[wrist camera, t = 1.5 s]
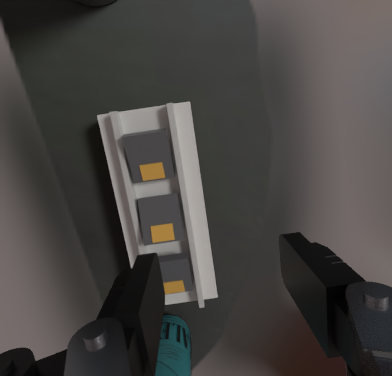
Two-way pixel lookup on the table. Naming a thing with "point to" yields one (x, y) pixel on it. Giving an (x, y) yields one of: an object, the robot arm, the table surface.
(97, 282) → the table surface
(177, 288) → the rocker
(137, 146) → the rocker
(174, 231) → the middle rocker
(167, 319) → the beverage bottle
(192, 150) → the power strip
